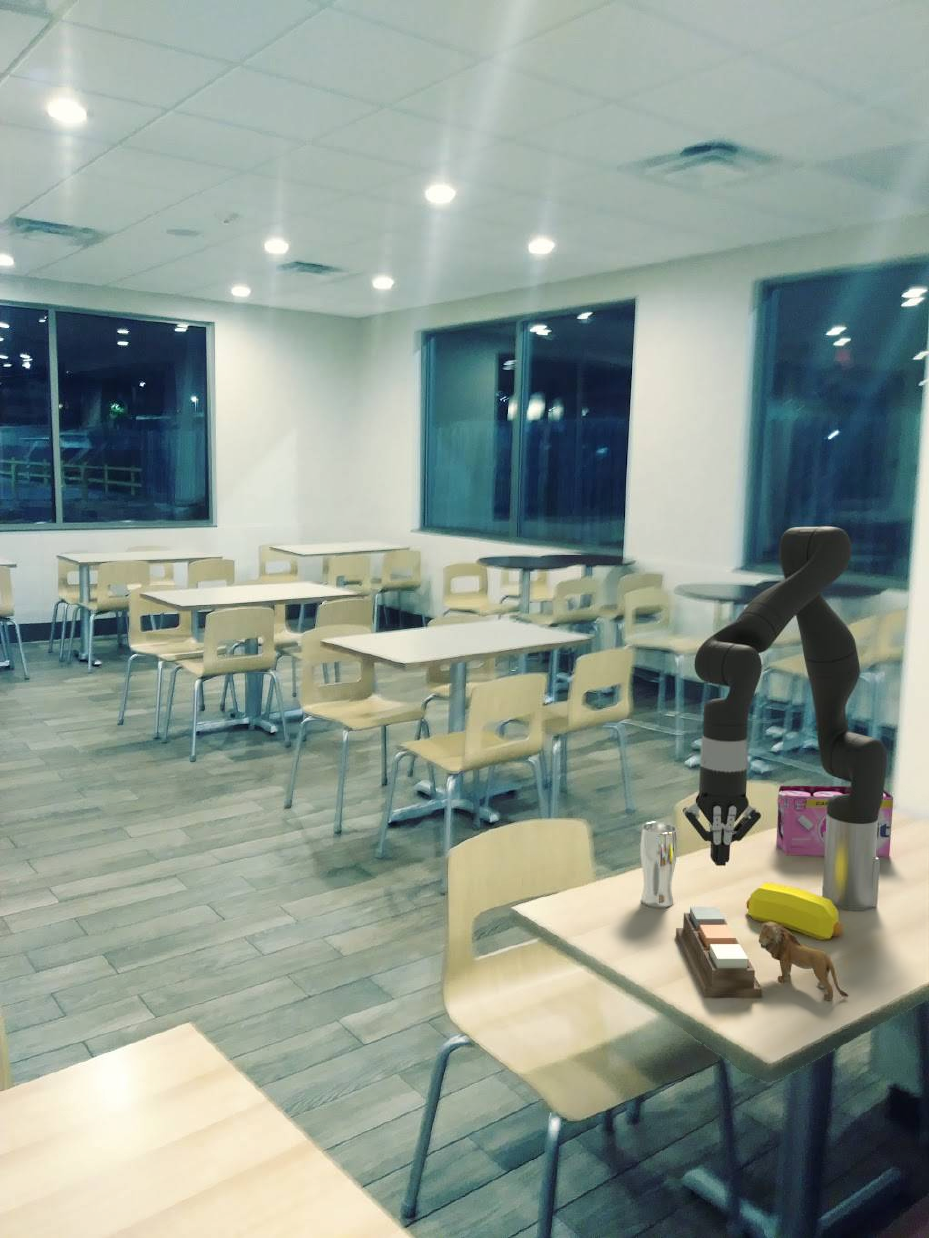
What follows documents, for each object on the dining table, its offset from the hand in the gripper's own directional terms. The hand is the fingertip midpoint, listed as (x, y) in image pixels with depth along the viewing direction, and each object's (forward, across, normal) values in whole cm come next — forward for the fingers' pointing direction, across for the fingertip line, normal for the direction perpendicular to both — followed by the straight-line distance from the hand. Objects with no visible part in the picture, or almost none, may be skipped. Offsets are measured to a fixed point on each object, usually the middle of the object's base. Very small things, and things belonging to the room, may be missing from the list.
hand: (719, 863), depth 161 cm
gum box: (+18, -39, -52) cm, 67 cm away
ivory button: (+15, 0, +7) cm, 16 cm away
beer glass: (+18, +5, -25) cm, 31 cm away
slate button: (+15, 0, -7) cm, 16 cm away
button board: (+18, 0, 0) cm, 18 cm away
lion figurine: (+18, -12, +6) cm, 23 cm away
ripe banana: (+18, -18, -15) cm, 30 cm away
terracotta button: (+15, 0, 0) cm, 15 cm away
